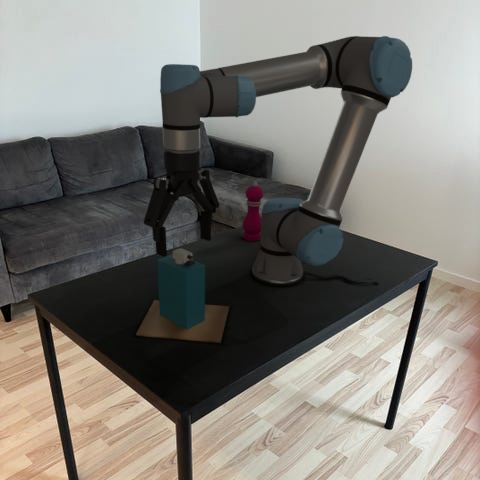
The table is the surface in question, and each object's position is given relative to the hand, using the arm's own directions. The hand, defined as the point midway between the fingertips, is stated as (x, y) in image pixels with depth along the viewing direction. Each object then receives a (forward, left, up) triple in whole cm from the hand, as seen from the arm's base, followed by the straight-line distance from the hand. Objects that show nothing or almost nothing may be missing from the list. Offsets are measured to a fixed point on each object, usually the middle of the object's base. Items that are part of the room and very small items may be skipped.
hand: (184, 246), depth 109 cm
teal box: (+5, -3, -10) cm, 12 cm away
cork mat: (0, 0, -20) cm, 20 cm away
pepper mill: (-12, -61, -20) cm, 65 cm away
